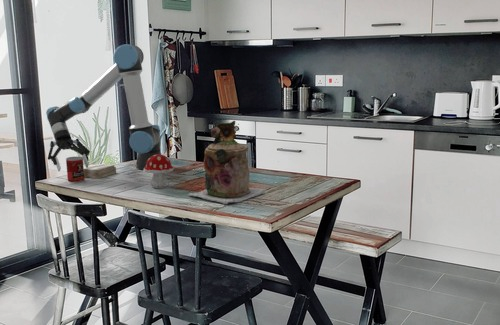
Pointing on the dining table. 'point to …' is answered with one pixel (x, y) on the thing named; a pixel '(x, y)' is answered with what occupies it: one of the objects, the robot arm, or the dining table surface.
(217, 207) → the dining table surface
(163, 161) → the decorative mushroom
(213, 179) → the cookie jar
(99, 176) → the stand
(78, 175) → the canned food
